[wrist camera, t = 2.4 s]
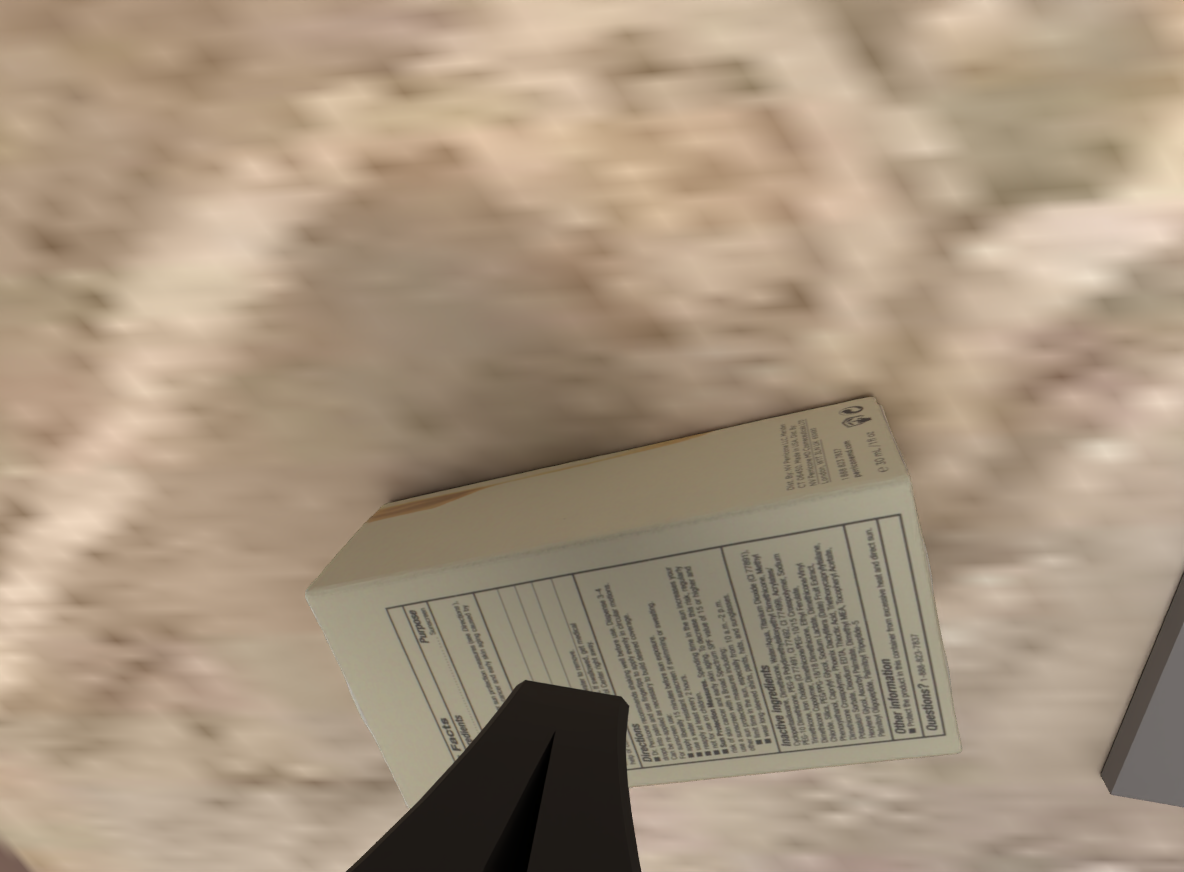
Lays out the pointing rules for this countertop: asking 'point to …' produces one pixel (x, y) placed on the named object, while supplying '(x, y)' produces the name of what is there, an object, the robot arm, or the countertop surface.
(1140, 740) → the mat
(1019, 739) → the countertop surface
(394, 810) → the countertop surface
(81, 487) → the countertop surface
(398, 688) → the skincare box
